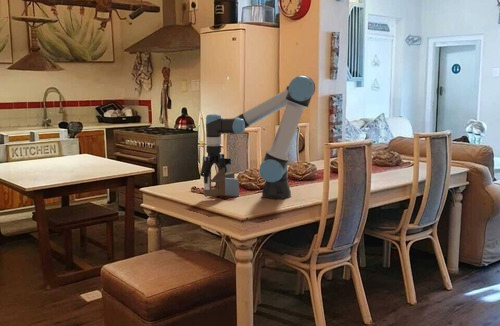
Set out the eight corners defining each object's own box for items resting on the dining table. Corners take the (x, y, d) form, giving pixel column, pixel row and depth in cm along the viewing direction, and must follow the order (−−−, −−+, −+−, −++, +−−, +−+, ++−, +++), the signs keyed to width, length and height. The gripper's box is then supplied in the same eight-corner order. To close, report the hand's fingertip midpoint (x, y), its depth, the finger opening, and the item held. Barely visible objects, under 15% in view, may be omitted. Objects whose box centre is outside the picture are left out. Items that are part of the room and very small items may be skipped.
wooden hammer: (225, 195, 269) (225, 160, 266) (205, 196, 265) (204, 161, 262) (223, 193, 272) (222, 159, 269) (203, 195, 268) (202, 160, 266)
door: (220, 193, 283) (219, 176, 281) (240, 195, 277) (239, 178, 276) (217, 194, 280) (217, 177, 279) (237, 196, 275) (237, 179, 273)
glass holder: (223, 186, 304) (222, 160, 301) (209, 182, 315) (208, 158, 312) (235, 184, 309) (234, 159, 307) (221, 181, 320) (220, 156, 318)
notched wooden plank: (234, 190, 293) (234, 170, 291) (217, 194, 281) (217, 174, 279) (231, 189, 294) (231, 170, 292) (214, 194, 282) (214, 174, 280)
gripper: (222, 142, 276) (223, 183, 279) (192, 146, 258) (193, 190, 261) (233, 143, 272) (234, 184, 275) (204, 147, 253) (205, 192, 256)
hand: (214, 187), depth 268 cm, fingers closed on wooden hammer, 11 cm apart
